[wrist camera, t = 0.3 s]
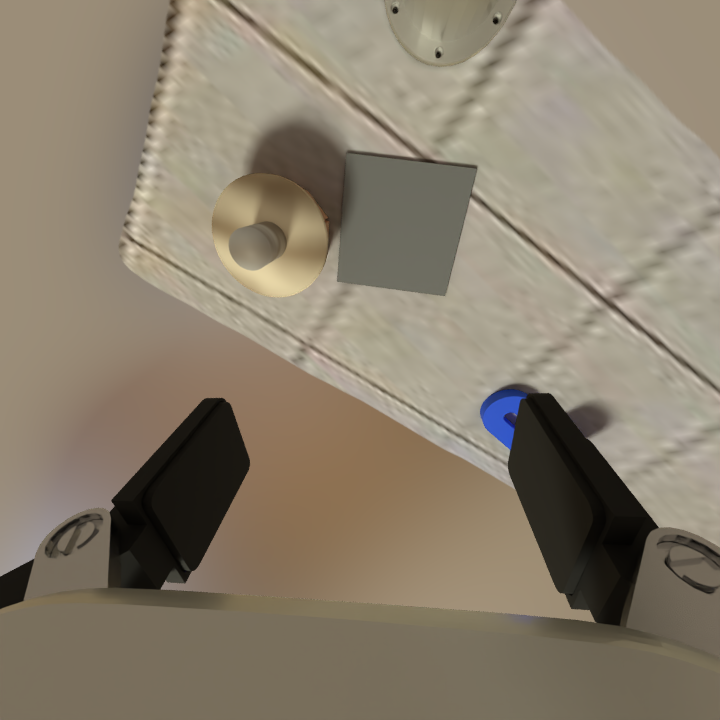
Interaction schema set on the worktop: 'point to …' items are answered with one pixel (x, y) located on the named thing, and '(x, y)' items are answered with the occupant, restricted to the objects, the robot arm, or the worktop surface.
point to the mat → (401, 222)
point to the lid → (270, 234)
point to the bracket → (501, 414)
